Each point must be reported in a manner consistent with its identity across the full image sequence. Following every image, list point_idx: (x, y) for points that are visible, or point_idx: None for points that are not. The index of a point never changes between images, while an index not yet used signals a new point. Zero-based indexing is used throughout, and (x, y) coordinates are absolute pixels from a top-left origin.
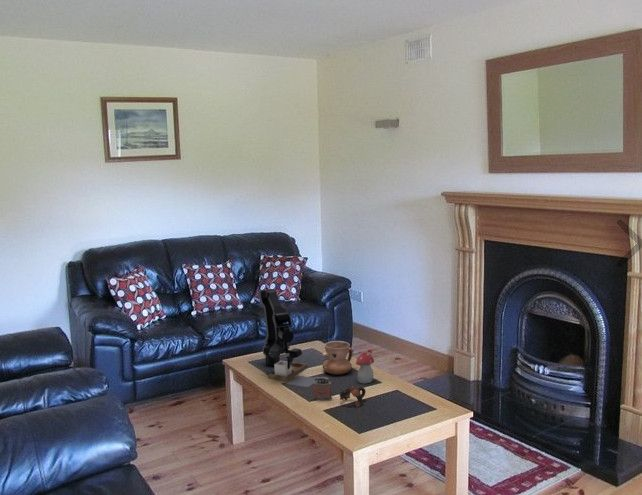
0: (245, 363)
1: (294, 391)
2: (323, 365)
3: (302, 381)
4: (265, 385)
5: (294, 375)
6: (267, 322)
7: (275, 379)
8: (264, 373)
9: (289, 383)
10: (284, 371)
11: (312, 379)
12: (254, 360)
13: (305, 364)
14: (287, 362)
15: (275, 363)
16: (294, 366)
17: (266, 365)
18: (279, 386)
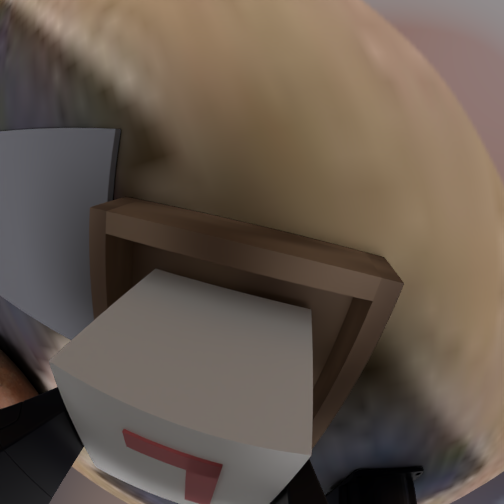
0: (500, 451)
1: (43, 35)
2: (13, 402)
3: (28, 227)
4: (348, 45)
5: None
6: None
7: (280, 233)
8: (431, 388)
9: (85, 146)
10: (122, 312)
11: (11, 278)
12: (456, 484)
13: None
14: (33, 425)
15: (306, 482)
16: None
17: (410, 473)
18: (166, 55)
